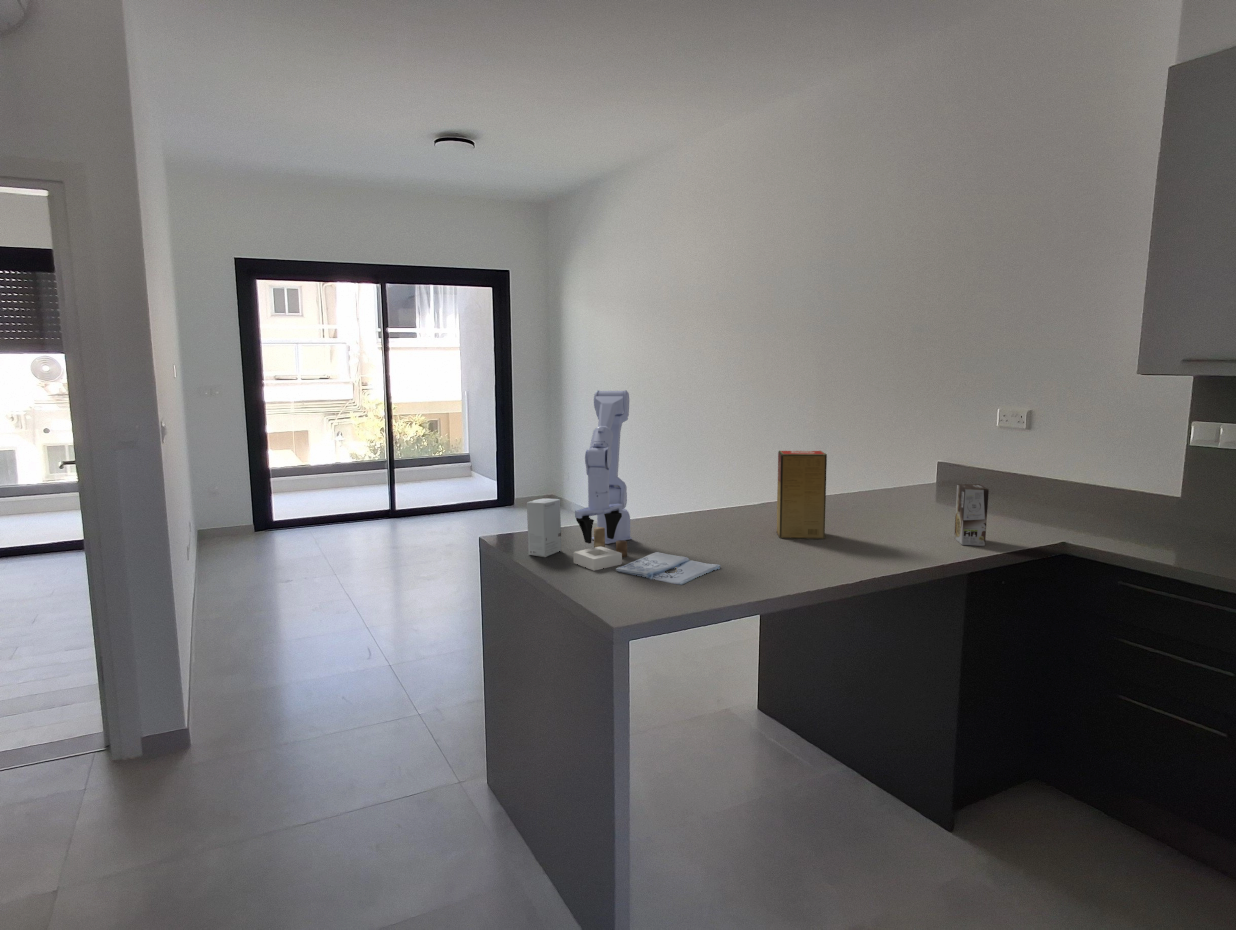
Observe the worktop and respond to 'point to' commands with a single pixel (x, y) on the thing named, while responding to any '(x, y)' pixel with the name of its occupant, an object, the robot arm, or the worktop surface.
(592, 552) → the socket block
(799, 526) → the food packaging
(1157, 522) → the worktop surface
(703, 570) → the folded cloth
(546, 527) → the skincare box
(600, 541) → the oak dowel
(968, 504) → the coffee box
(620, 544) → the walnut dowel
